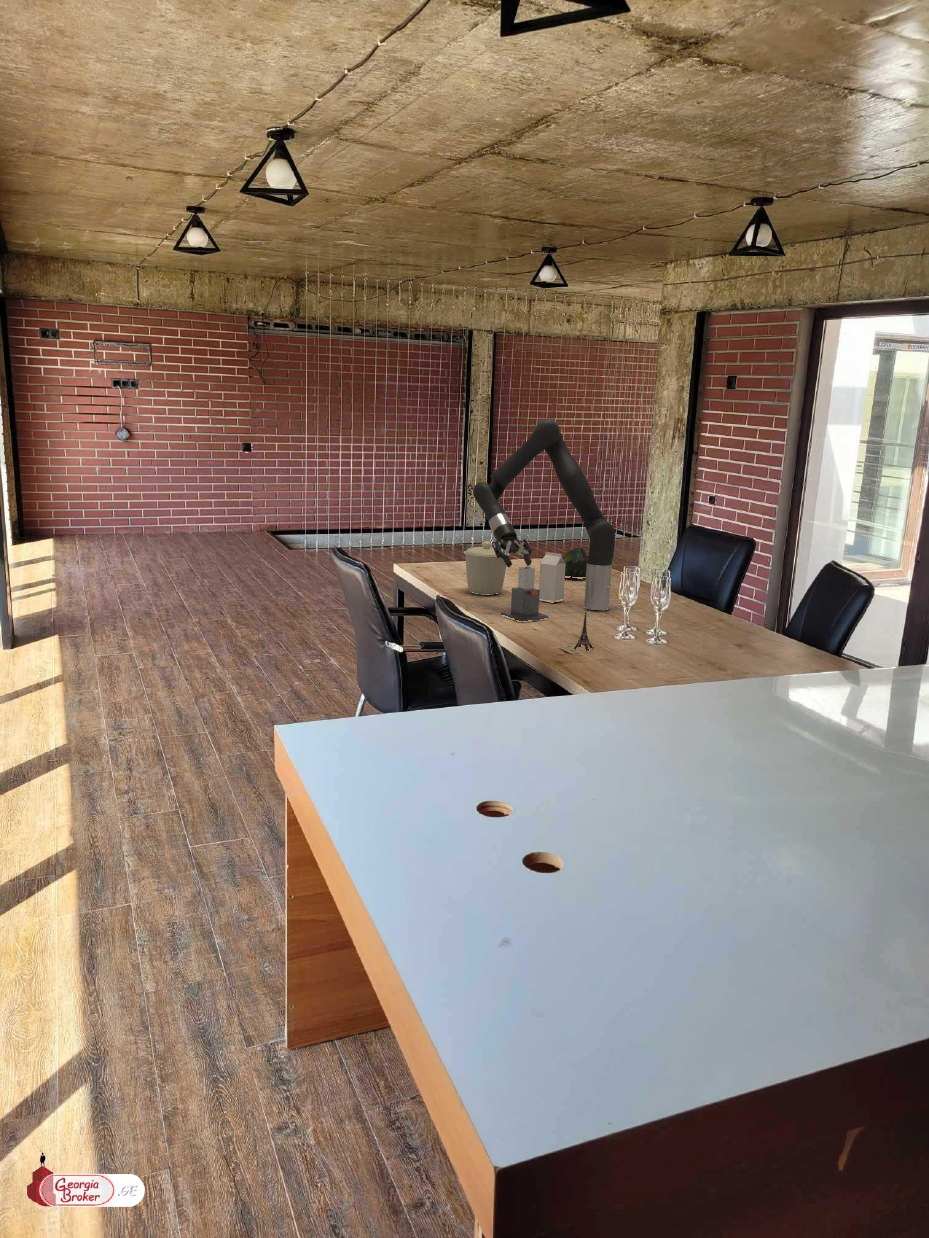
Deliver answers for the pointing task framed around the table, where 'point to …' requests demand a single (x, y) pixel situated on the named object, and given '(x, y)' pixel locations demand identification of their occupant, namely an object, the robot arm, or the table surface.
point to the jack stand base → (525, 605)
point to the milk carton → (552, 577)
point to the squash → (575, 562)
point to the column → (526, 578)
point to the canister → (484, 569)
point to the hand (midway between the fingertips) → (520, 565)
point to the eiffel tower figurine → (583, 637)
